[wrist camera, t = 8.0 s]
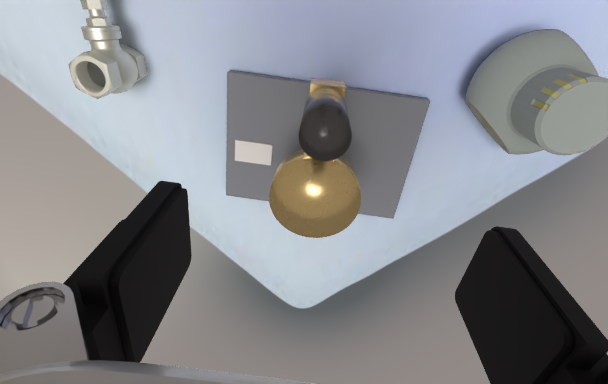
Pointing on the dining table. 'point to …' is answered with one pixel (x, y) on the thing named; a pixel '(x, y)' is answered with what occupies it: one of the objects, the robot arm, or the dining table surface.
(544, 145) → the air freshener
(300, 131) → the brass knob with handle
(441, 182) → the dining table surface
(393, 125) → the post base
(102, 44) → the valve
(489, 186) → the dining table surface
